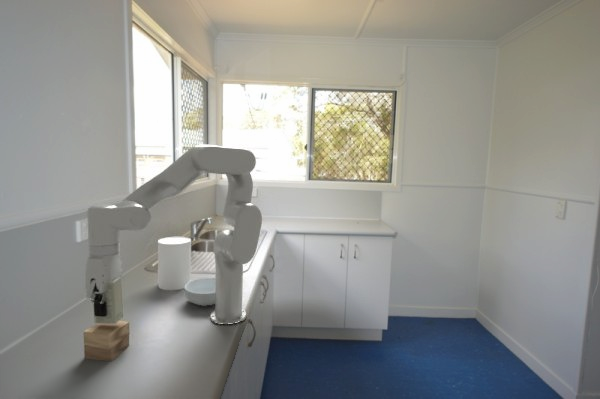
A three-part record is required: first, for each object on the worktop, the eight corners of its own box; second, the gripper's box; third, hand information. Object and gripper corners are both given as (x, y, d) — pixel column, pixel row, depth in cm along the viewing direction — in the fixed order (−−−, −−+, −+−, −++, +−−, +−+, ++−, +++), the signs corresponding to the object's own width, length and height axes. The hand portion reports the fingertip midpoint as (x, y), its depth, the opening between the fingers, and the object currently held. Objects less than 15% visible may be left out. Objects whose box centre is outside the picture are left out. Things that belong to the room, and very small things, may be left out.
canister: (169, 292, 139) (169, 245, 137) (152, 284, 147) (151, 240, 145) (197, 284, 150) (197, 240, 147) (179, 276, 158) (179, 235, 155)
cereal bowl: (216, 314, 122) (217, 295, 121) (175, 308, 125) (175, 290, 125) (234, 296, 139) (235, 279, 138) (198, 291, 142) (198, 275, 141)
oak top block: (105, 330, 101) (105, 318, 100) (129, 334, 99) (129, 321, 99) (84, 345, 93) (83, 331, 92) (109, 349, 91) (108, 335, 91)
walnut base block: (104, 343, 101) (103, 331, 100) (129, 346, 100) (129, 333, 100) (84, 359, 93) (84, 345, 93) (111, 362, 92) (111, 348, 92)
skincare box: (123, 317, 98) (122, 277, 96) (115, 324, 94) (114, 282, 92) (101, 316, 98) (100, 276, 96) (92, 323, 93) (91, 281, 92)
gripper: (111, 241, 102) (113, 298, 104) (68, 257, 85) (72, 325, 87) (134, 242, 101) (136, 300, 103) (96, 259, 84) (99, 327, 87)
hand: (106, 310), depth 95 cm, fingers closed on skincare box, 4 cm apart
